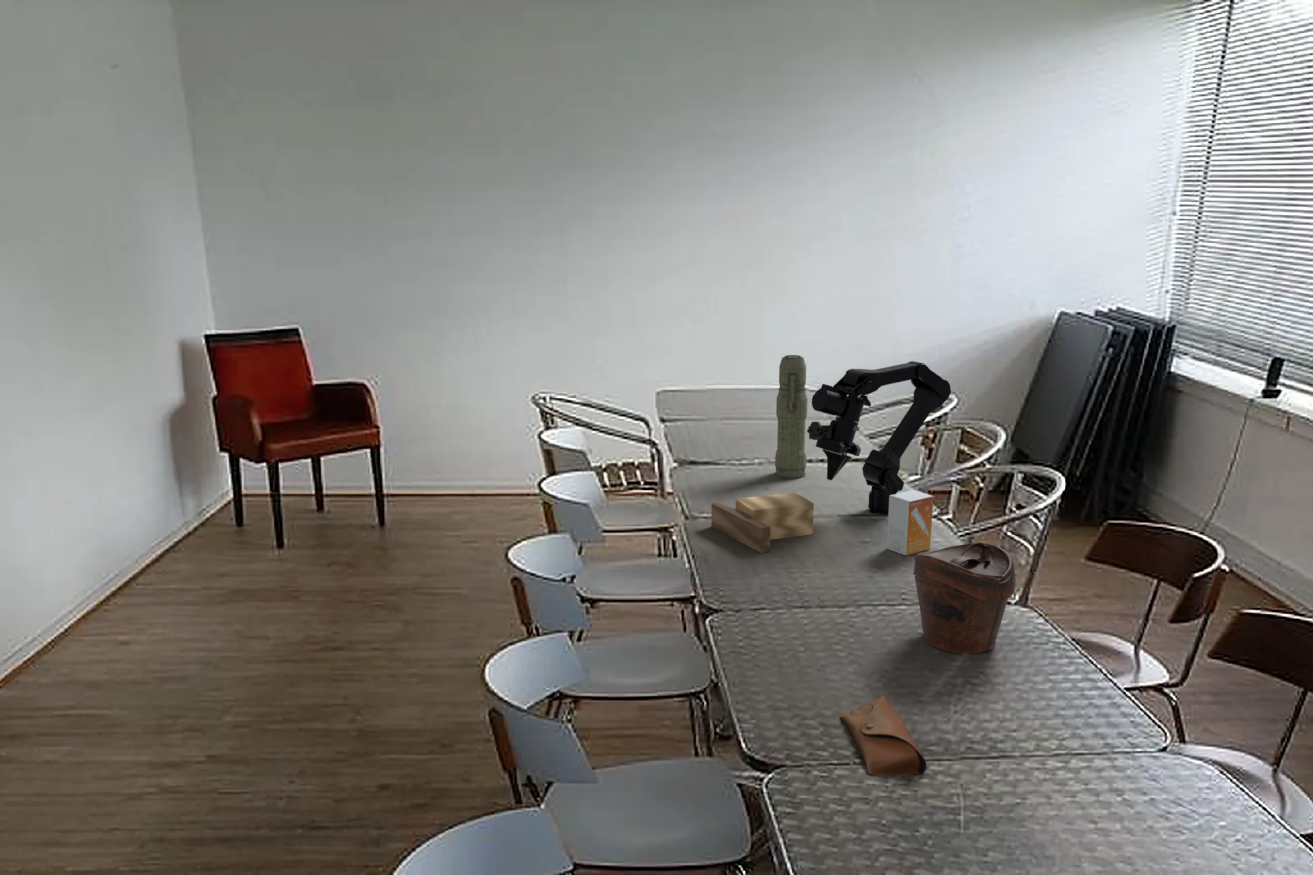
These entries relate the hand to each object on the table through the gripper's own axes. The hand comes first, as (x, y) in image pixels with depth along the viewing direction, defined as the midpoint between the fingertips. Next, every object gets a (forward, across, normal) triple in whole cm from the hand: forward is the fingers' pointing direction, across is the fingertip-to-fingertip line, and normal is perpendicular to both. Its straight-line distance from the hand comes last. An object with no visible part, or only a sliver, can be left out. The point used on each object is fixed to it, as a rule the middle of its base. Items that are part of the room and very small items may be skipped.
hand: (829, 479), depth 252 cm
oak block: (+16, +10, -7) cm, 20 cm away
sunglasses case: (+29, +91, +46) cm, 106 cm away
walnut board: (+19, +18, -12) cm, 28 cm away
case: (+17, +50, +47) cm, 71 cm away
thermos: (+5, -38, -23) cm, 45 cm away
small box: (+9, +8, +25) cm, 28 cm away
